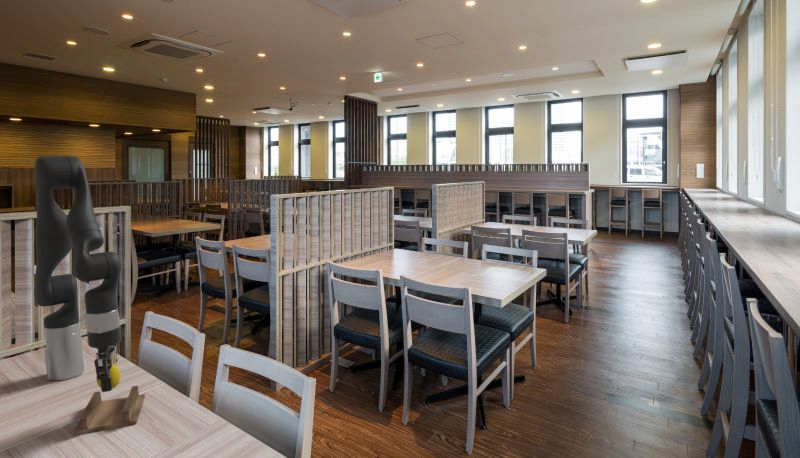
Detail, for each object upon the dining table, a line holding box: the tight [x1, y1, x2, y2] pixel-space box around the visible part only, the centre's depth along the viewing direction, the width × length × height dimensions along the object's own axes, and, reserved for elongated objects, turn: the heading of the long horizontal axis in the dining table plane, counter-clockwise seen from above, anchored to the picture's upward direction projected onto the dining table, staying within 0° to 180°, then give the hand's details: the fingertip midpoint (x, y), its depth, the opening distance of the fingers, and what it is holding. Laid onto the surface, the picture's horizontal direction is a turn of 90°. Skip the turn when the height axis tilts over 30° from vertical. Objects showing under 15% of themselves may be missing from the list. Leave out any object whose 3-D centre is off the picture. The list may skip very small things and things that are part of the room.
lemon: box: [96, 364, 122, 391], centre depth 125 cm, size 6×6×8 cm
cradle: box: [73, 385, 146, 436], centre depth 126 cm, size 14×15×4 cm
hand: (109, 385), depth 125 cm, fingers closed on lemon, 5 cm apart
